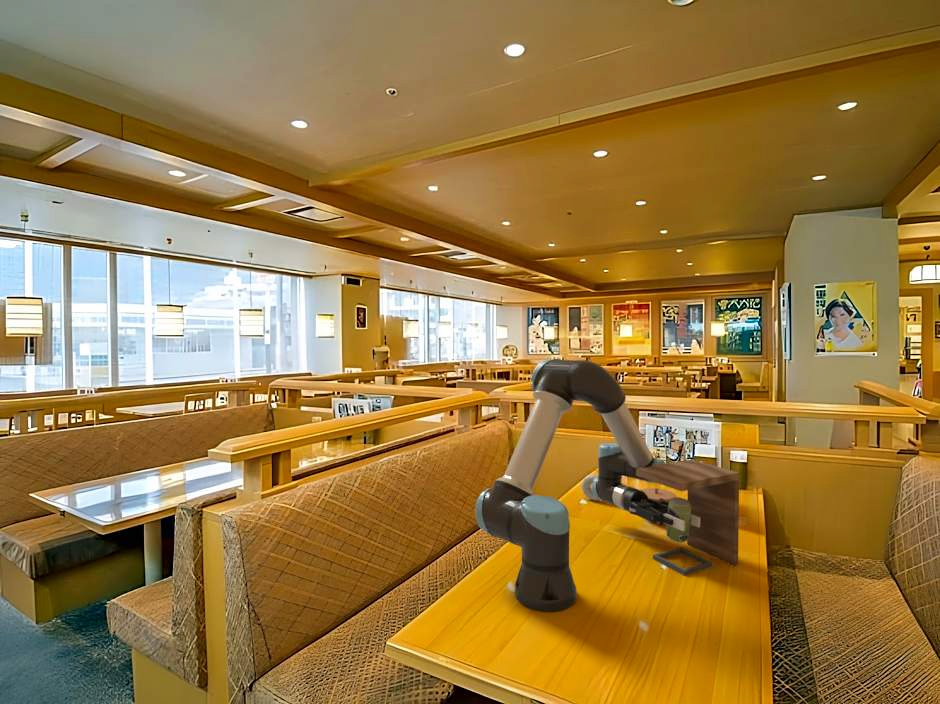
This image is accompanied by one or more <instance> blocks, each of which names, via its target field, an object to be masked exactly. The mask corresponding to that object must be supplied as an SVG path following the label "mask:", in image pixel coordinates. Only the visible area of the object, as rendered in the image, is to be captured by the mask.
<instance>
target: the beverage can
mask: <svg viewBox="0 0 940 704" xmlns="http://www.w3.org/2000/svg"><path fill="white" fill-rule="evenodd" d="M668 514H669V515H671V516H674V517H676V518H679V519H681V520H684V521H685V531H681V530H679V529H676V528H674V527H672V526H669V525H667V524H666V536H667V537H668V538H669V539H670V541H673V542H675V543H684V542H687V540H689V535H690V520H691V506H690V504H689V501H688V500H687V499H686V498H683V497H677V496H676V497H675V498H672V499H671V501H670V502H669V504H668Z"/></svg>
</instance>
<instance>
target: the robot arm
mask: <svg viewBox="0 0 940 704" xmlns="http://www.w3.org/2000/svg"><path fill="white" fill-rule="evenodd" d="M530 379H531V383H530V385H531V386H530V387H531V390H532V391H533V393H532V397H533V400H534V403H533V406H532V409H531V411H530V414H529V415H528V417H527V420H526V422H525V425H524V426H523V430H522V432H521V434H520V437H519V439H518V440H517V441H518V442H517V443H516V446H515V448H514V451H513V453H512V455H511V458H510V460H509V463H508V465H507V466H506V470H505V471H504V474H503V476H502V477H499V478H497V479H495V481H494V484H493V485H492V487H490V488H489V487H488V488H486V489H485V490H484V491H483V490H482V492H481V493H480V494H479V496H478V497H477V500H476V502H475V503H476V504H475V511H474V513H475V518H476V523H477V525H478V527H479V528H480V529H481V530H482V531H483V532H484V533H486V534H489V535H490V536H492V537H494V538H498V539H500V540H503V541H505V542H508V543H509V544H512V545H515V546H518V547H520V548H521V565H520V567H519V571H518V574H517V576H516V580H515V582H514V583H515V584H514V596H515V599H516V600H517V601H518V602H519V603H520V604H521V605H522V606H524V607H527V608H529V609H532V610H535V611H541V612H558V611H564V610H567V609H568V608H570V607H572V606H573V605H574V604H575V603H576V602H577V585H576V584H575V583H576V582H575V580H574V578H573V573H572V570H571V567H570V528H571V522H570V518H569V517H570V516H569V510H568V507H567V506H566V505H565V504H564V503H563V502H562V501H560V500H558V499H556V498H554V497H551V496H547V495H544V496H542V495H541V494H540V495H539V494H538V495H537V494H536V495H535V493H534V491H533V490H534V486H535V484H536V481H537V479H538V478H539V474H540V472H541V470H542V466H543V464H544V461H545V459H546V457H547V454H548V452H549V450H550V447H551V445H552V442H553V439H554V437H555V435H556V432H557V429H558V426H559V425H560V422H561V419H562V416H563V414H564V413H566V412H569V411H571V408H572V406H573V403H574V401H577V402H584V403H587V404H589V405H590V406H591V407H592V408H593V410H594V411H595V412H596V413H598V414H600V415H601V416H602V418H603V420H604V422H605V424H606V426H607V428H608V429H609V431H610V433H611V434H612V436H613V438H614V439H615V442H616V443H614V442H605V443H601V444H600V445H599V446H598V456H597V459H598V460H597V461H598V464H597V465H598V475H597V476H598V477H596V478H595V479H594V480H593V483H592V484H591V486H590V487H591V490H592V492H593V494H594V495H595V496H596V497H598V498H599V499H601V500H600V501H603V502H605V503H609V504H610V505H614V506H616V507H618V508H620V509H622V510H623V511H626V512H628V513H629V514H631V515H634V516H638V518H639V517H640V518H642V519H644V520H645V521H647V520H648V521H647V522H649V521H650V522H649V523H652V524H658V523H657V522H659V526H664V524H665V525H666V526H667V525H669V526H672V527H674V528H676V529H679V530H681V531H685V521H684V520H681V519H679V518H676V517H674V516H671V515H669V514H668V504H669V502H668V501H666V500H664V499H662V498H660V499H659V501H655V500H653V499H651V498H648V497H647V495H646V493H645V492H643V491H641V490H640V489H639V488H638V489H637V488H635V487H633V486H631V485H629V484H625V483H622V477H625V478H631V479H634V480H639V481H644V482H647V483H654V484H657V483H656V482H653V481H650V480H647V479H644V478H641V477H639V476H636V469H637V468H643V467H649V466H655V465H661V464H666V462H665V460H664V459H661V458H658V457H656V458H655V457H654V456H653V454H652V452H651V451H650V449H649V446H648V444H647V443H646V441H645V439H644V437H643V435H642V433H641V431H640V429H639V427H638V425H637V423H636V421H635V419H634V417H633V415H632V414H631V411H630V410H629V407H628V406H627V404H626V394H625V392H624V390H623V388H622V386H621V384H620V383H619V382H618V381H617V379H616V378H615V377H614V376H613V375H612V373H610V372H609V371H608V370H607V369H605V368H604V367H603V366H601V365H600V364H598V363H596V362H594V361H591V360H585V359H584V360H577V359H575V360H573V359H571V360H570V359H560V358H551V359H546V360H545V359H544V360H542V361H541V362H539V363H538V364H537V365H536V366H535V368H534V369H533V372H532V374H531V378H530ZM663 514H664V516H663ZM690 524H691V525H693V526H696V527H700V517H698V516H695V515H693V514H691V520H690Z"/></svg>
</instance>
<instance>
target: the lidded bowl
mask: <svg viewBox="0 0 940 704" xmlns="http://www.w3.org/2000/svg"><path fill="white" fill-rule="evenodd" d="M639 490H641V491H643V492H645V493H646V495H647V497H648V498H651V499H653V500H655V501H659V499H660V498H662V499H664V500H666V501H668V502H670V501H671V499H672V498H675V497H677V495H676V493H674V492H672V491H670V490H667V489H663V488H659V487H654V488H653V487H651V488H649V487H645V488H641V489H639ZM663 516H664V514H663ZM658 523H659V522H657V523H656V524H658Z"/></svg>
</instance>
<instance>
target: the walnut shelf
mask: <svg viewBox="0 0 940 704" xmlns="http://www.w3.org/2000/svg"><path fill="white" fill-rule="evenodd" d="M699 461H700V460H694V459H687V460H686V459H685V460H681V461H674V462H668V463H665V464H661V465H655V466H649V467H643V468H637V469H636V476H639V477H641V478H644V479H647V480H650V481H653V482H656V483H655V484H659V485H662V486H665V487H667V488H670V489H674V490H677V491H679V492H685V491H687V499H686V500H688V501H689V504H690V506H691V514H693V515H695V516H698V517H700V527H696V526H693V525H691V524H690V535H689V540H687V541H686V545H687V544H688V545H687V546H689V547H691V548H693V549H696V550H697V551H700V552H702V553H704V552H705V554H706V553H707V555H708V554H709V556H711V557H713V556H714V557H713V558H715V557H716V558H715V559H717V558H718V559H717V560H719V559H720V560H719V561H721V560H722V562H723V563H726V564H728V563H729V564H728V565H730V566H732V565H733V566H732V567H737V565H738V566H739V527H740V526H739V525H740V524H739V521H740V519H739V518H740V517H739V516H740V515H739V514H740V509H739V508H740V472H739V471H734V470H732V469H728V468H723V467H720V466H717V465H713V464H710V463H705V462H704V463H702V462H699Z"/></svg>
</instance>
